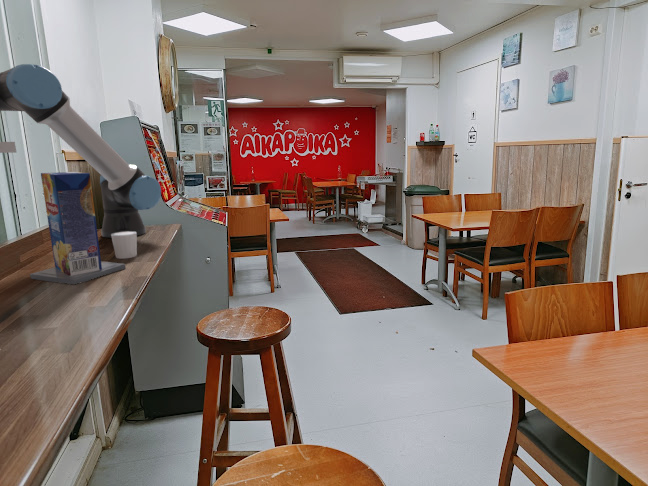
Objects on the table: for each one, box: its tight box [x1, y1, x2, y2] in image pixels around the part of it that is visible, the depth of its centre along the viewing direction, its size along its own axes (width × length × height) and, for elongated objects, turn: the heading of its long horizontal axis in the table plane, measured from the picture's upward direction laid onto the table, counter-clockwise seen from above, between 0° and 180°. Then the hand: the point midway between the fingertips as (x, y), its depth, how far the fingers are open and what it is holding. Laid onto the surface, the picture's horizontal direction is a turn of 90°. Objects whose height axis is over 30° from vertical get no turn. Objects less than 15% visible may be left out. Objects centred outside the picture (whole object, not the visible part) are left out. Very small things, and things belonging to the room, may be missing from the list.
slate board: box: [29, 260, 126, 285], centre depth 108 cm, size 15×15×1 cm
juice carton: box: [40, 171, 102, 276], centre depth 105 cm, size 12×8×24 cm, turn 46°
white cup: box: [111, 231, 138, 260], centre depth 125 cm, size 7×7×7 cm
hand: (5, 146), depth 103 cm, fingers open, 13 cm apart
